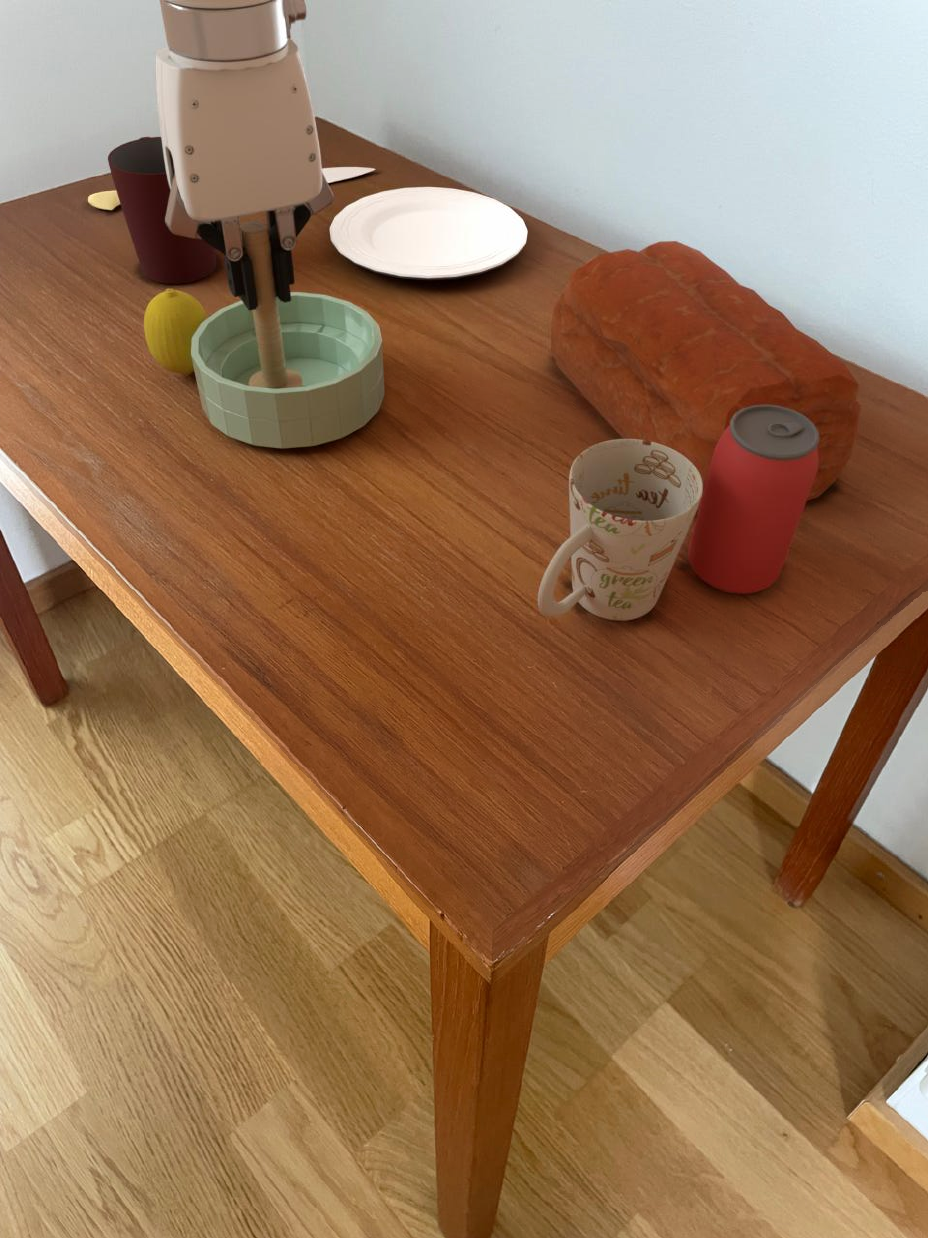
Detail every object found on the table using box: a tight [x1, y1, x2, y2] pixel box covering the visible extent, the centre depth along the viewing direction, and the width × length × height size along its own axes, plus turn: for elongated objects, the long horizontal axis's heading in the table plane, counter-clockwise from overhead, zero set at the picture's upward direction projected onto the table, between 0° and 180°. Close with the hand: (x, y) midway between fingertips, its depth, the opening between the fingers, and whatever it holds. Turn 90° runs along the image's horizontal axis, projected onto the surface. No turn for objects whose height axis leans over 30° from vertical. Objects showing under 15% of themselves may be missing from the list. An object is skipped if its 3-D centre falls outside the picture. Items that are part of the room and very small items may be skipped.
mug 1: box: [107, 136, 217, 285], centre depth 95 cm, size 12×9×11 cm
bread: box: [550, 240, 862, 513], centre depth 78 cm, size 16×27×11 cm, turn 24°
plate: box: [329, 186, 528, 282], centre depth 102 cm, size 21×21×2 cm
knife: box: [87, 166, 376, 211], centre depth 110 cm, size 1×33×4 cm
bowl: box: [191, 291, 385, 449], centre depth 80 cm, size 15×15×6 cm
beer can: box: [687, 404, 819, 595], centre depth 65 cm, size 7×7×12 cm
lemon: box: [143, 288, 209, 377], centre depth 82 cm, size 6×6×8 cm
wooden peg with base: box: [239, 220, 303, 389], centre depth 75 cm, size 4×4×14 cm
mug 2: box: [537, 438, 703, 622], centre depth 63 cm, size 8×13×10 cm, turn 137°
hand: (263, 296), depth 74 cm, fingers closed on wooden peg with base, 2 cm apart
